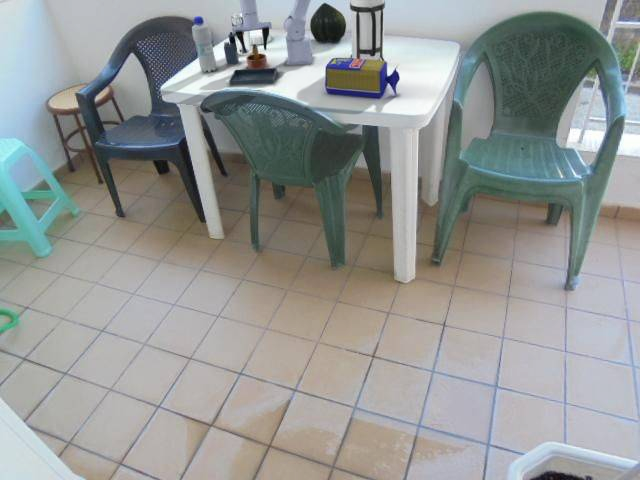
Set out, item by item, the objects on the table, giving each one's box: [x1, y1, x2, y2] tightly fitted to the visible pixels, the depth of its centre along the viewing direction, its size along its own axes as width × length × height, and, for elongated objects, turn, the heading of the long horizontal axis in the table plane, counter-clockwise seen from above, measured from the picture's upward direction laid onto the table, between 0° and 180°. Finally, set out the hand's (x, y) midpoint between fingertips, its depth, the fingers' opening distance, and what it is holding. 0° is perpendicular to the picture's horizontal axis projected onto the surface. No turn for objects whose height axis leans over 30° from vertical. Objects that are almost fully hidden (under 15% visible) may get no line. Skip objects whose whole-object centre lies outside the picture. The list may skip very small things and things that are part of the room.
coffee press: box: [349, 0, 386, 61], centre depth 176 cm, size 17×16×30 cm
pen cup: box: [246, 52, 269, 69], centre depth 187 cm, size 8×8×4 cm
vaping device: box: [223, 31, 240, 65], centre depth 189 cm, size 3×5×12 cm, turn 78°
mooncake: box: [250, 29, 272, 46], centre depth 212 cm, size 12×12×4 cm
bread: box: [324, 57, 401, 99], centre depth 162 cm, size 10×25×10 cm, turn 70°
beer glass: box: [230, 12, 253, 56], centre depth 197 cm, size 7×7×15 cm
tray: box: [229, 67, 278, 86], centre depth 179 cm, size 16×10×2 cm, turn 86°
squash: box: [309, 2, 347, 43], centre depth 204 cm, size 14×15×15 cm
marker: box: [251, 44, 259, 60], centre depth 185 cm, size 2×2×8 cm
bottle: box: [191, 15, 218, 73], centre depth 183 cm, size 7×7×20 cm
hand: (255, 50), depth 184 cm, fingers open, 7 cm apart
